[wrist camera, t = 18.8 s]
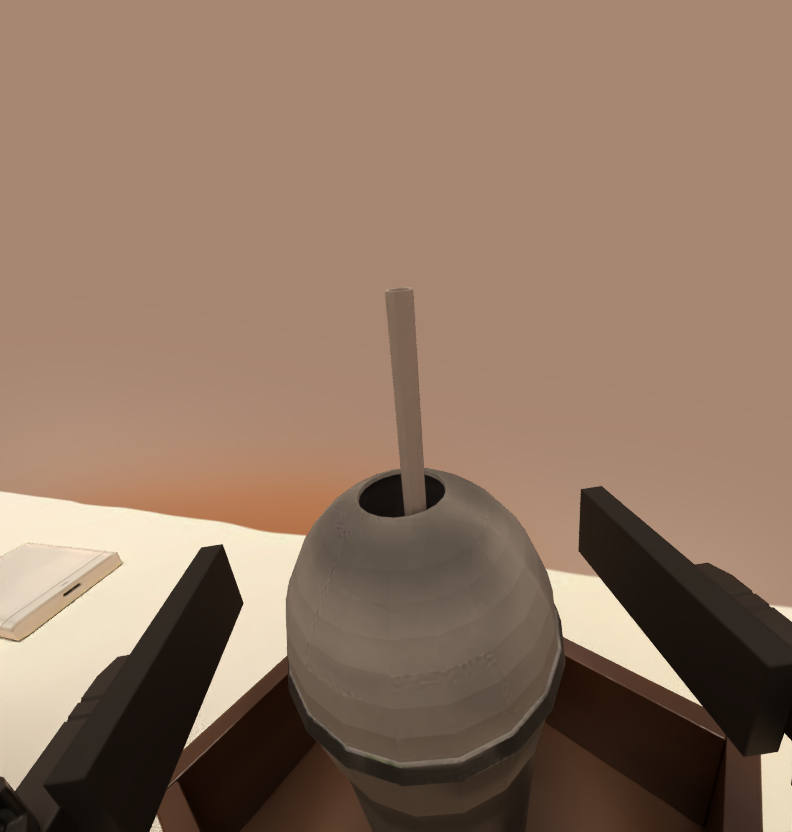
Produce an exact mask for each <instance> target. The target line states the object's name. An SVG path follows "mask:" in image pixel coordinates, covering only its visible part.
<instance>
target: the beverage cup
mask: <svg viewBox="0 0 792 832" xmlns="http://www.w3.org/2000/svg"><path fill="white" fill-rule="evenodd" d="M385 297H386V309H387V320H388V331H389V343H390V354H391V365H392V376H393V388H394V398H395V410H396V421H397V433H398V444H399V455H400V466H401V469H396V470H391V471H387V472H383V473H380V474H376V475H374V476H372V477H370V478H367V479H365V480H363V481H361V482H359V483H358V484H356V485H354V486H353V487H351V488H350V489H349V490H347V491H346V492H345V493H343V494H342V495H340V496H339V497H338V498H336V499H335V500H334V501H333V503H332V504H331V505H330V506H329V507H328V508H327V509H326V510H325V511H324V513H323V514H322V515H321V516H320V517H319V519H318V520H317V521H316V522H315V524H314V525H313V526H312V528H311V530H310V532H309V533H308V535H307V536H306V538H305V540H304V542H303V545H302V548H301V551H300V553H299V556H298V559H297V562H296V564H295V567H294V570H293V572H292V575H291V578H290V581H289V585H288V591H287V597H286V628H287V659H288V686H289V692H290V694H291V696H292V699H293V701H294V703H295V705H296V708H297V710H298V712H299V714H300V717H301V719H302V721H303V723H304V726H305V728H306V730H307V732H308V733H309V734H310V735H311V736H312V737H313V738H314V739H315V740H316V741H318V742H319V743H320V744H321V746H322V748H323V749H324V751H325V752H326V753H327V754H328V756H329V757H330V758H331V760H332V761H333V762H334V764H335V765H336V766H337V767H338V769H339V770H340V771H341V772H342V773H343V774H344V775H345V776H346V777H347V778H348V779H349V781H350V783H351V785H352V788H353V790H354V792H355V794H356V796H357V798H358V801H359V803H360V805H361V807H362V809H363V811H364V814H365V816H366V818H367V820H368V822H369V824H370V827H371V829H372V831H373V832H525V830H526V822H527V814H528V807H529V799H530V791H531V784H532V776H533V768H534V761H535V753H536V746H537V743H538V740H539V737H540V734H541V732H542V729H543V725H544V722H545V719H546V717H547V716H548V715H549V713H550V712H551V711H552V709H553V706H554V702H555V699H556V695H557V692H558V688H559V685H560V681H561V678H562V674H563V671H564V667H565V663H566V662H565V653H564V644H563V635H562V626H561V620H560V617H559V614H558V611H557V608H556V606H555V604H554V600H553V590H552V587H551V584H550V580H549V577H548V573H547V571H546V569H545V567H544V565H543V563H542V561H541V559H540V557H539V555H538V553H537V551H536V550H535V548H534V546H533V544H532V542H531V540H530V538H529V536H528V535H527V533H526V531H525V529H524V528H523V527H522V525H521V524H520V522H519V521H518V520H517V519H516V517H515V516H514V515H513V514H512V513H511V512H510V511H509V510H508V509H506V508H505V507H504V506H503V505H502V504H501V503H500V502H499V501H497V500H496V499H495V498H494V497H493V496H492V495H490V494H489V493H488V492H487V491H486V490H485V489H483V488H481V487H480V486H478V485H476V484H474V483H472V482H470V481H468V480H466V479H464V478H461V477H459V476H457V475H455V474H451V473H447V472H443V471H438V470H434V469H428V468H424V461H423V445H422V428H421V412H420V397H419V396H420V395H419V380H418V363H417V348H416V330H415V313H414V296H413V288H395V289H389V290H385Z"/></svg>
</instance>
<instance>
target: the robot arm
mask: <svg viewBox="0 0 792 832" xmlns="http://www.w3.org/2000/svg"><path fill="white" fill-rule="evenodd" d="M580 502H581V503H580V528H579V552H580V553H581V555H582V556H583V557H584V558H585V560H586V561H587V562H588V563H589V565H590V566H591V567H592V568H593V569H594V571H595V572H596V573H597V575H598V576H599V577H600V578H601V580H602V581H603V582H604V583H605V585H606V586H607V587H608V588H609V590H610V591H611V592H612V593H613V595H614V596H615V597H616V598H617V600H618V601H619V602H620V603H621V605H622V606H623V607H624V608H625V610H626V611H627V612H628V613H629V615H630V616H631V617H632V618H633V620H634V621H635V622H636V623H637V625H638V626H639V627H640V628H641V630H642V631H643V632H644V633H645V635H646V636H647V637H648V638H649V640H650V641H651V642H652V643H653V645H654V646H655V647H656V648H657V650H658V651H659V652H660V653H661V655H662V656H663V657H664V658H665V660H666V661H667V662H668V663H669V665H670V666H671V667H672V668H673V670H674V671H675V672H676V673H677V675H678V676H679V677H680V678H681V680H682V681H683V682H684V683H685V685H686V686H687V687H688V688H689V690H690V691H691V692H692V693H693V695H694V696H695V697H696V698H697V700H698V701H699V702H700V703H701V705H702V706H703V707H704V708H705V710H706V711H707V712H708V713H709V715H710V716H711V717H712V718H713V720H714V721H715V722H716V723H717V725H718V726H719V727H720V728H721V730H722V731H723V732H724V733H725V735H726V736H727V737H728V738H729V740H730V741H731V742H732V743H733V745H734V746H735V747H736V748H737V750H738V751H739V752H740V753H741V755H742V756H743V757H749V756H755V755H761V754H767V753H773V752H778V750H779V747H780V744H781V741H782V738H783V735H784V733H785V734H786V735H787V736H788V737H789V738H790V739H791V741H792V622H791V621H790V620H789V619H787V618H786V617H785V616H783V615H782V614H781V613H780V612H778V611H777V610H776V609H775V608H773V607H772V608H771V607H770V606H769V604H768V603H767V602H766V601H764V600H763V599H761V597H759V596H758V595H757V594H753V593H752V590H750V589H749V588H748V587H747V586H745V585H744V584H743V583H741V582H740V581H739V580H737V579H736V578H735V577H734V576H732V575H731V574H729V573H727V572H725V571H723V570H721V569H719V568H717V567H715V566H713V565H711V564H709V563H703V564H696V565H694V564H693V563H692V562H691V561H690V560H688V559H687V558H686V557H685V556H684V555H683V554H681V553H680V552H679V551H678V550H677V549H675V548H674V547H673V546H672V545H671V544H670V543H668V542H667V541H666V540H665V539H663V538H662V537H661V536H660V535H659V534H657V533H656V532H655V531H654V530H653V529H652V528H651V527H649V526H648V525H647V524H646V523H645V522H643V521H642V520H641V519H640V518H639V517H637V516H636V515H635V514H634V513H633V512H632V511H630V510H629V509H628V508H627V507H626V506H624V505H623V504H622V503H621V502H620V501H619V500H617V499H616V498H615V497H614V496H613V495H611V494H610V493H609V492H608V491H607V490H605V489H604V488H603V487H602V486H600V487H593V488H587V489H581V501H580ZM242 606H243V600H242V598H241V595H240V592H239V589H238V586H237V583H236V581H235V578H234V575H233V572H232V569H231V567H230V564H229V561H228V558H227V555H226V552H225V550H224V547H223V544H221V545H215V546H208V547H202V548H201V549H200V550H199V552H198V553H197V555H196V556H195V558H194V559H193V561H192V562H191V564H190V565H189V567H188V568H187V570H186V571H185V573H184V574H183V576H182V577H181V579H180V580H179V582H178V583H177V585H176V586H175V588H174V589H173V591H172V592H171V594H170V595H169V597H168V598H167V600H166V601H165V603H164V604H163V606H162V607H161V609H160V610H159V612H158V613H157V615H156V616H155V618H154V619H153V621H152V622H151V624H150V625H149V627H148V628H147V630H146V631H145V633H144V634H143V636H142V637H141V639H140V640H139V642H138V643H137V645H136V646H135V648H134V649H133V651H132V652H131V654H130V655H126V656H120V657H117V658H116V659H115V660H114V661H113V662H112V663H111V664H110V665H109V666H108V667H107V668H106V669H104V670H103V671H102V672H101V673H100V674H99V675H98V676H97V677H96V679H95V680H94V682H93V683H92V684H91V686H90V687H89V689H88V690H87V691H86V693H85V694H84V696H83V697H82V698H81V702H80V703H78V704H77V705H76V707H75V708H74V710H73V711H72V712H71V714H70V715H69V717H68V721H67V722H64V723H63V725H62V726H61V728H60V729H59V730H58V732H57V733H56V735H55V736H54V737H53V739H52V740H51V742H50V743H49V744H48V746H47V747H46V749H45V750H44V751H43V753H42V754H41V756H40V757H39V758H38V760H37V761H36V763H35V764H34V765H33V767H32V768H31V770H30V771H29V772H28V774H27V775H26V777H25V778H24V779H23V781H22V782H21V784H20V785H19V786H18V788H17V789H16V791H14V790H13V789H12V787H11V786H10V785H9V784H8V782H7V781H6V780H5V779H4V778H3V777H0V832H149V831H150V829H151V826H152V824H153V822H154V819H155V817H156V814H157V812H158V809H159V807H160V805H161V802H162V800H163V797H164V795H165V792H166V790H167V788H168V785H169V783H170V780H171V778H172V775H173V773H174V771H175V768H176V766H177V763H178V761H179V758H180V756H181V754H182V751H183V749H184V746H185V744H186V742H187V739H188V737H189V734H190V732H191V729H192V727H193V725H194V722H195V720H196V717H197V715H198V712H199V710H200V708H201V705H202V703H203V700H204V698H205V695H206V693H207V691H208V688H209V686H210V683H211V681H212V678H213V676H214V674H215V671H216V669H217V666H218V664H219V662H220V659H221V657H222V654H223V652H224V649H225V647H226V645H227V642H228V640H229V637H230V635H231V632H232V630H233V628H234V625H235V623H236V620H237V618H238V615H239V613H240V611H241V608H242ZM791 785H792V781H791Z"/></svg>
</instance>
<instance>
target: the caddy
mask: <svg viewBox="0 0 792 832" xmlns="http://www.w3.org/2000/svg"><path fill="white" fill-rule="evenodd" d="M563 644H564V653H565V662H566V663H565V667H564V671H563V674H562V678H561V681H560V685H559V688H558V692H557V695H556V699H555V702H554V706H553V709H552V711H551V712H550V713H549V715H548V716H547V717H546V719H545V722H544V725H543V729H542V732H541V734H540V737H539V740H538V743H537V746H536V753H535V761H534V768H533V776H532V784H531V791H530V799H529V807H528V814H527V822H526V830H525V832H763V813H762V778H761V755H755V756H749V757H743V756H742V755H741V753H740V752H739V751H738V750H737V748H736V747H735V746H734V745H733V743H732V742H731V741H730V740H729V738H728V737H727V736H726V735H725V733H724V732H723V731H722V730H721V728H720V727H719V726H718V725H717V723H716V722H715V721H714V720H713V718H712V717H711V716H710V715H709V713H708V712H707V711H706V710H705V708H704V707H702V706H700V705H698V704H696V703H694V702H692V701H690V700H688V699H686V698H684V697H682V696H680V695H678V694H676V693H674V692H672V691H670V690H668V689H666V688H664V687H662V686H660V685H658V684H656V683H654V682H652V681H650V680H648V679H646V678H644V677H642V676H640V675H638V674H636V673H634V672H632V671H630V670H628V669H626V668H624V667H622V666H620V665H618V664H616V663H614V662H612V661H610V660H608V659H606V658H604V657H602V656H600V655H598V654H596V653H594V652H592V651H590V650H588V649H586V648H584V647H582V646H580V645H578V644H576V643H574V642H572V641H570V640H568V639H566V638H564V637H563ZM156 815H157V817H158V820H159V823H160V826H161V828H162V831H163V832H373V831H372V829H371V827H370V824H369V822H368V820H367V818H366V816H365V814H364V811H363V809H362V807H361V805H360V803H359V801H358V798H357V796H356V794H355V792H354V790H353V788H352V785H351V783H350V781H349V779H348V778H347V777H346V776H345V775H344V774H343V773H342V772H341V771H340V770H339V769H338V767H337V766H336V765H335V764H334V762H333V761H332V760H331V758H330V757H329V756H328V754H327V753H326V752H325V751H324V749H323V748H322V746H321V744H320V743H319V742H318V741H316V740H315V739H314V738H313V737H312V736H311V735H310V734H309V733H308V732H307V730H306V728H305V726H304V723H303V721H302V719H301V717H300V714H299V712H298V710H297V708H296V705H295V703H294V701H293V699H292V696H291V694H290V692H289V686H288V659H287V656H286V657H285V658H284V659H283V660H282V661H281V662H280V663H279V664H277V665H276V666H275V667H274V668H273V669H272V670H271V671H270V672H269V673H267V674H266V675H265V676H264V677H263V678H262V679H261V680H260V681H259V682H258V683H256V684H255V685H254V686H253V687H252V688H251V689H250V690H249V691H248V692H247V693H245V694H244V695H243V696H242V697H241V698H240V699H239V700H238V701H237V702H236V703H234V704H233V705H232V706H231V707H230V708H229V709H228V710H227V711H226V712H225V713H223V714H222V715H221V716H220V717H219V718H218V719H217V720H216V721H215V722H214V723H212V724H211V725H210V726H209V727H208V728H207V729H206V730H205V731H204V732H203V733H201V734H200V735H199V736H198V737H197V738H196V739H195V740H194V741H193V742H192V743H190V744H189V745H188V746H187V747H186V748H185V749H184V750H183V751H182V754H181V756H180V758H179V761H178V763H177V766H176V768H175V771H174V773H173V775H172V778H171V780H170V783H169V785H168V788H167V790H166V792H165V795H164V797H163V800H162V802H161V805H160V807H159V809H158V812H157V814H156Z"/></svg>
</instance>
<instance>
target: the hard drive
mask: <svg viewBox="0 0 792 832" xmlns="http://www.w3.org/2000/svg"><path fill="white" fill-rule="evenodd" d="M121 562H122V561H121V559H120V557H119V555H118V553H117V552H107V551H98V550H90V549H80V548H72V547H62V546H52V545H44V544H34V543H25V544H23V545H21V546H19V547H17V548H15V549H13V550H12V551H10V552H8V553H6V554H5V555H3V556H1V557H0V637H5V638H10V639H14V640H20V639H22V638H24V637H26V636H28V635H29V634H31V633H32V632H33V631H34V630H36V629H37V628H38V627H40V626H41V625H42V624H44V623H45V622H46V621H48V620H49V619H50V618H52V617H53V616H54V615H56V614H57V613H58V612H59V611H61V610H62V609H63V608H65V607H66V606H67V605H69V604H70V603H71V602H72V601H74V600H75V599H76V598H78V597H79V596H80V595H82V594H83V593H84V592H86V591H87V590H88V589H90V588H91V587H92V586H94V585H95V584H96V583H98V582H99V581H100V580H102V579H103V578H104V577H106V576H107V575H108V574H109V573H111V572H112V571H114V570H115V569H116V568H117V567H118V566H119V565H120V564H121Z"/></svg>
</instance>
